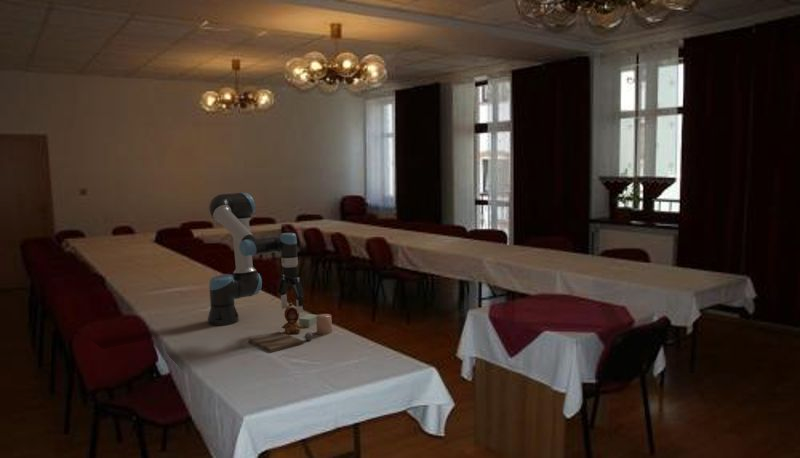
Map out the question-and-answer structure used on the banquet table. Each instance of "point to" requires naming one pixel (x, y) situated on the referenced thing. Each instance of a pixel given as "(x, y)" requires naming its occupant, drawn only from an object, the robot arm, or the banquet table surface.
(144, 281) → the banquet table surface
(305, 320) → the block
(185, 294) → the banquet table surface
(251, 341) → the board
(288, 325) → the figurine
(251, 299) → the banquet table surface
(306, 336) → the ball
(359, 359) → the banquet table surface
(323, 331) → the brown rounded cylinder
